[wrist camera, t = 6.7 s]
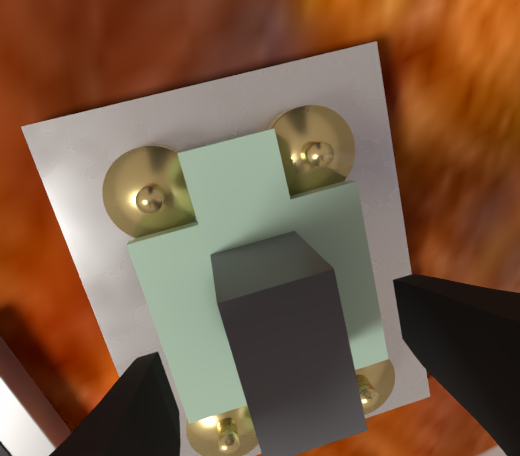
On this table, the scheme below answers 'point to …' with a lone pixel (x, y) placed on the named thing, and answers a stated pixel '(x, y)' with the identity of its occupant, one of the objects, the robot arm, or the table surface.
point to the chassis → (181, 212)
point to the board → (231, 218)
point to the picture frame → (25, 412)
